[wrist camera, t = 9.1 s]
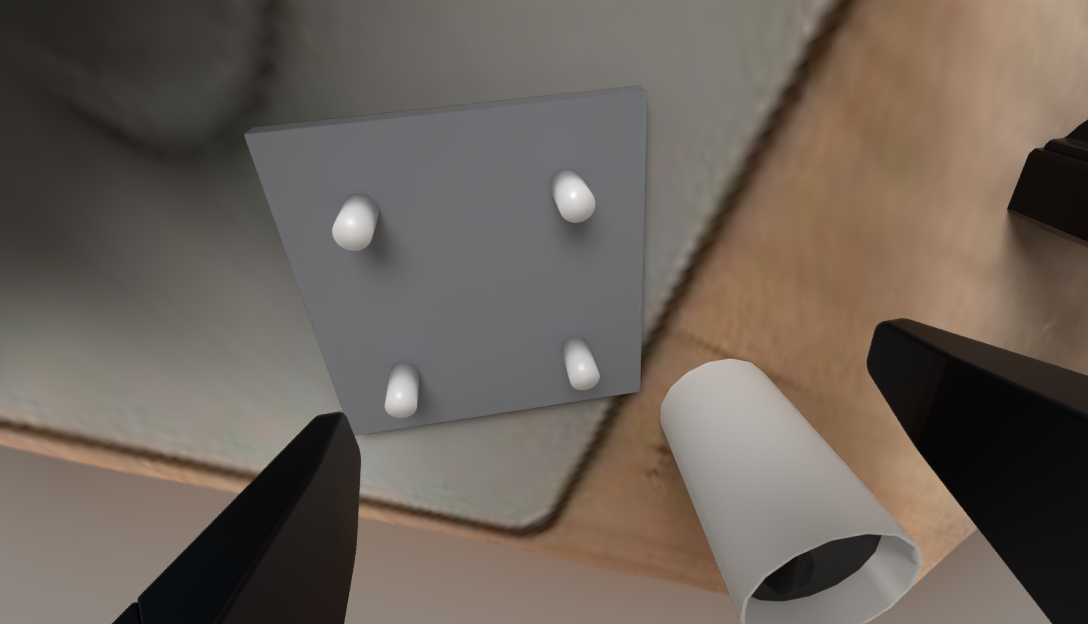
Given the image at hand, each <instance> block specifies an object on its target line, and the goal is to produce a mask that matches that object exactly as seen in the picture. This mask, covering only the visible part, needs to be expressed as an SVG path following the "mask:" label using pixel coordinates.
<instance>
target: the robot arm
mask: <svg viewBox="0 0 1088 624" xmlns="http://www.w3.org/2000/svg"><path fill="white" fill-rule="evenodd" d="M1007 209H1008V210H1009V212H1010V213H1013V214H1015V215H1018V216H1020V217H1022V218H1024V219H1027V220H1029V221H1032V222H1034V223H1036V224H1038V225H1039V226H1040V227H1042V228H1043V229H1045V230H1047V231H1050V232H1052V233H1054V234H1057V235H1059V236H1061V237H1064V238H1066V239H1069V240H1071V241H1073V242H1076V243H1078V244H1080V245H1083V246H1085V247H1088V120H1087V121H1085V122H1084V123H1082V124H1081V125H1079V126H1078V127H1077V128H1076V129H1075V130H1074V131H1072V132H1071V133H1070V134H1069V135H1068V136H1066V137H1064V138H1060V139H1053V140H1050V141H1049V142H1048V143H1047V144H1046V145H1045V147H1043V148H1035V149H1034V150H1033V151H1032V152H1030V153H1029V155H1028V157H1027V160H1026V162H1025V165H1024V167H1023V170H1022V172H1021V175H1020V178H1019V180H1018V183H1017V185H1016V188H1015V190H1014V193H1013V195H1012V198H1011V200H1010V203H1009V205H1008V208H1007ZM867 368H868V372H869V374H870V376H871V378H872V379H873V381H874V382H875V384H876V386H877V387H878V389H879V390H880V392H881V394H882V395H883V397H884V398H885V400H886V401H887V403H888V405H889V406H890V408H891V409H892V411H893V413H894V414H895V416H896V417H897V419H898V421H899V422H900V424H901V425H902V427H903V429H904V430H905V432H906V433H907V435H908V437H909V438H910V440H911V441H912V443H913V444H914V446H915V447H916V449H917V450H918V451H919V453H920V454H921V455H922V457H923V458H924V459H925V461H926V462H927V463H928V465H929V466H930V467H931V468H932V470H933V471H934V472H935V474H936V475H937V476H938V477H939V479H940V480H941V481H942V483H943V484H944V485H945V486H946V488H947V489H948V490H949V492H950V493H951V494H952V495H953V497H954V498H955V499H956V501H957V502H958V503H959V505H960V506H961V507H962V508H963V510H964V511H965V512H966V514H967V515H968V516H969V517H970V519H971V520H972V521H973V523H974V524H975V525H976V526H977V528H978V529H979V530H980V532H981V533H982V534H983V535H984V537H985V538H986V539H987V541H988V542H989V543H990V544H991V546H992V547H993V548H994V549H995V551H996V552H997V553H998V555H999V556H1000V557H1001V559H1002V560H1003V561H1004V562H1005V564H1006V565H1007V566H1008V567H1009V569H1010V570H1011V571H1012V573H1013V574H1014V575H1015V577H1016V578H1017V579H1018V580H1019V582H1020V583H1021V584H1022V586H1023V587H1024V588H1025V589H1026V591H1027V592H1028V593H1029V595H1030V596H1031V597H1032V598H1033V600H1034V601H1035V602H1036V604H1037V605H1038V606H1039V607H1040V609H1041V610H1042V611H1043V613H1044V614H1045V615H1046V617H1047V618H1048V619H1049V620H1050V622H1051V623H1052V624H1088V376H1087V375H1084V374H1080V373H1077V372H1074V371H1071V370H1068V369H1065V368H1061V367H1058V366H1055V365H1052V364H1049V363H1046V362H1043V361H1039V360H1036V359H1033V358H1030V357H1027V356H1024V355H1020V354H1017V353H1014V352H1011V351H1008V350H1005V349H1001V348H998V347H995V346H992V345H989V344H986V343H983V342H979V341H976V340H973V339H970V338H967V337H964V336H960V335H957V334H954V333H951V332H948V331H945V330H941V329H938V328H935V327H932V326H929V325H926V324H922V323H919V322H916V321H913V320H910V319H906V318H900V319H894V320H888V321H883V322H881V323H879V324H878V325H877V326H876V328H875V331H874V334H873V338H872V342H871V346H870V350H869V353H868V357H867ZM360 471H361V455H360V450H359V446H358V444H357V441H356V439H355V436H354V433H353V431H352V428H351V426H350V423H349V421H348V418H347V417H346V415H345V414H344V413H342V412H334V413H328V414H322V415H318V416H316V417H315V418H314V419H313V420H312V421H311V422H310V423H309V424H308V425H307V426H306V427H305V428H304V429H303V430H302V431H301V432H300V433H299V434H298V435H297V436H296V437H295V438H294V439H293V440H292V441H291V442H290V443H289V444H288V445H287V446H286V447H285V448H284V449H283V450H282V451H281V452H280V453H279V454H278V455H277V456H276V457H275V458H274V459H273V460H272V461H271V462H270V463H269V464H268V466H267V467H266V468H265V469H264V470H263V471H262V472H261V473H260V474H259V475H258V476H257V477H256V478H255V479H254V480H253V481H252V482H251V483H250V484H249V485H248V486H247V487H246V488H245V489H244V490H243V491H242V492H241V493H240V494H239V495H238V496H237V497H236V498H235V499H234V500H233V501H232V502H231V503H230V504H229V505H228V506H227V507H226V508H225V509H224V510H223V511H222V512H221V513H220V514H219V515H218V516H217V518H215V519H214V521H213V522H212V523H211V524H210V525H209V526H208V527H207V528H206V529H205V530H204V531H203V532H202V533H201V534H200V535H199V536H198V537H197V538H196V539H195V540H194V541H193V542H192V543H191V544H190V545H189V546H188V547H187V548H186V549H185V550H184V551H183V552H182V553H181V554H180V555H179V556H178V557H177V558H176V559H175V560H174V561H173V562H172V563H171V564H170V565H169V566H168V567H167V568H166V569H165V570H164V571H163V573H161V574H160V576H159V577H157V579H156V580H155V581H154V582H153V583H152V584H151V585H150V586H149V587H148V588H147V589H146V590H145V591H144V592H143V593H142V594H141V595H140V596H139V597H138V603H136V602H134V603H132V604H131V605H130V606H129V607H128V608H127V609H126V610H125V611H124V612H123V613H122V614H121V615H120V616H119V617H118V618H117V619H116V620H115V621H114V622H113V623H112V624H344V621H345V615H346V609H347V603H348V597H349V592H350V586H351V580H352V574H353V568H354V562H355V554H356V545H357V530H358V510H359V490H360Z"/></svg>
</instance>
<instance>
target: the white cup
mask: <svg viewBox="0 0 1088 624" xmlns="http://www.w3.org/2000/svg"><path fill="white" fill-rule="evenodd" d="M660 423H661V426H662V428H663V431H664V433H665V436H666V438H667V441H668V443H669V446H670V448H671V451H672V453H673V456H674V458H675V461H676V463H677V466H678V468H679V471H680V473H681V476H682V478H683V481H684V483H685V485H686V488H687V490H688V493H689V495H690V498H691V500H692V503H693V505H694V508H695V510H696V513H697V515H698V518H699V520H700V523H701V525H702V528H703V530H704V533H705V535H706V538H707V540H708V543H709V545H710V548H711V550H712V553H713V555H714V558H715V560H716V563H717V565H718V568H719V570H720V573H721V575H722V578H723V580H724V583H725V585H726V588H727V590H728V593H729V595H730V598H731V600H732V603H733V605H734V607H735V610H736V612H737V615H738V618H739V620H740V622H741V623H742V624H866V623H867V622H869V621H871V620H872V619H874V618H875V617H877V616H878V615H880V614H881V613H883V612H885V611H886V610H888V609H890V608H891V607H892V606H893V605H894V604H895V603H896V602H897V601H898V600H899V599H900V598H901V597H902V596H903V595H904V594H905V593H906V592H907V591H908V590H909V589H910V588H911V587H912V586H913V584H914V582H915V580H916V578H917V576H918V574H919V572H920V570H921V568H922V565H923V563H922V558H921V553H920V548H919V545H918V544H917V543H916V542H915V541H914V540H913V539H912V538H911V536H910V535H909V534H908V533H907V532H906V531H905V530H904V529H903V528H902V526H901V525H900V524H899V523H898V522H897V521H896V520H895V519H894V517H893V516H892V515H891V514H890V513H889V512H888V511H887V510H886V509H885V507H884V506H883V505H882V504H881V503H880V502H879V501H878V500H877V498H876V497H875V496H874V495H873V494H872V493H871V492H870V491H869V490H868V488H867V487H866V486H865V485H864V484H863V483H862V482H861V481H860V479H859V478H858V477H857V476H856V475H855V474H854V473H853V472H852V471H851V469H850V468H849V467H848V466H847V465H846V464H845V463H844V462H843V460H842V459H841V458H840V457H839V456H838V455H837V454H836V453H835V452H834V450H833V449H832V448H831V447H830V446H829V445H828V444H827V443H826V441H825V440H824V439H823V438H822V437H821V436H820V435H819V434H818V433H817V431H816V430H815V429H814V428H813V427H812V426H811V425H810V424H809V422H808V421H807V420H806V419H805V418H804V417H803V416H802V415H801V413H800V412H799V411H798V410H797V409H796V408H795V407H794V406H793V405H792V403H791V402H790V401H789V400H788V399H787V398H786V397H785V396H784V394H783V393H782V392H781V391H780V390H779V389H778V388H777V387H776V386H775V384H774V383H773V382H772V381H771V380H770V379H769V378H768V377H767V375H766V374H765V373H764V372H763V371H761V370H760V369H759V368H757V367H756V366H755V365H753V364H752V363H751V362H746V361H741V360H736V359H725V360H719V361H712V362H708V363H705V364H703V365H701V366H699V367H697V368H695V369H693V370H691V371H689V372H687V373H686V374H685V375H684V376H682V377H681V378H680V379H679V380H678V381H677V382H676V383H675V384H674V385H673V386H672V387H671V388H670V389H669V391H668V393H667V395H666V396H665V398H664V400H663V402H662V404H661V410H660Z"/></svg>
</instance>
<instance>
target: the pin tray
mask: <svg viewBox="0 0 1088 624" xmlns="http://www.w3.org/2000/svg"><path fill="white" fill-rule="evenodd" d="M647 93H648V91H647V90H645V89H643V88H641V87H640V86H634V87H625V88H615V89H606V90H597V91H587V92H578V93H568V94H559V95H550V96H540V97H531V98H522V99H512V100H503V101H494V102H484V103H475V104H465V105H456V106H447V107H437V108H428V109H419V110H409V111H400V112H391V113H381V114H372V115H362V116H353V117H344V118H334V119H325V120H316V121H306V122H297V123H288V124H278V125H269V126H260V127H253V128H252V129H250V130H249V131H248V132H246V133H245V134H244V137H245V139H246V142H247V145H248V148H249V151H250V153H251V156H252V159H253V162H254V165H255V167H256V170H257V173H258V176H259V178H260V181H261V184H262V187H263V190H264V192H265V195H266V198H267V201H268V204H269V206H270V209H271V212H272V215H273V218H274V220H275V223H276V226H277V229H278V232H279V234H280V237H281V240H282V243H283V246H284V248H285V251H286V254H287V257H288V259H289V262H290V265H291V268H292V271H293V273H294V276H295V279H296V282H297V285H298V287H299V290H300V293H301V296H302V299H303V301H304V304H305V307H306V310H307V313H308V315H309V318H310V321H311V324H312V327H313V329H314V332H315V335H316V338H317V340H318V343H319V346H320V349H321V352H322V354H323V357H324V360H325V363H326V366H327V368H328V371H329V374H330V377H331V380H332V382H333V385H334V388H335V391H336V394H337V396H338V399H339V402H340V405H341V408H342V410H343V413H344V414H345V415H346V417H347V418H348V421H349V423H350V426H351V428H352V431H353V433H354V436H356V435H363V434H369V433H376V432H382V431H389V430H395V429H402V428H408V427H414V426H421V425H427V424H434V423H440V422H447V421H453V420H460V419H466V418H473V417H479V416H485V415H492V414H498V413H505V412H511V411H518V410H524V409H531V408H537V407H544V406H550V405H556V404H563V403H569V402H576V401H582V400H589V399H595V398H602V397H608V396H615V395H621V394H627V393H634V392H640V375H641V335H642V295H643V254H644V214H645V174H646V133H647Z"/></svg>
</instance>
